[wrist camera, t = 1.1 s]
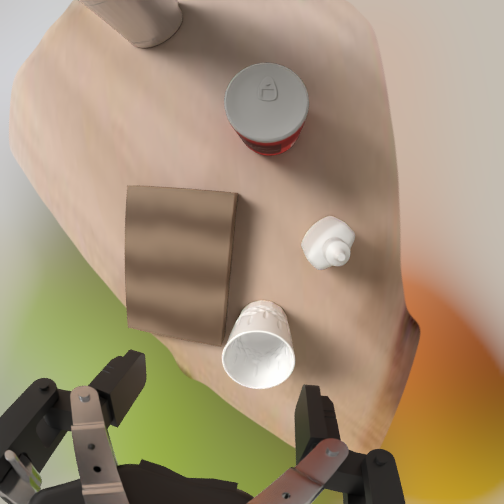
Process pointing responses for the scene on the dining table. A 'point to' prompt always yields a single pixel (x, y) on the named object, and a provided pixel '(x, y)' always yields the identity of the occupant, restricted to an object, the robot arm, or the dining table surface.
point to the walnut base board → (179, 261)
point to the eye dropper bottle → (328, 243)
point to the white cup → (260, 347)
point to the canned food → (267, 107)
